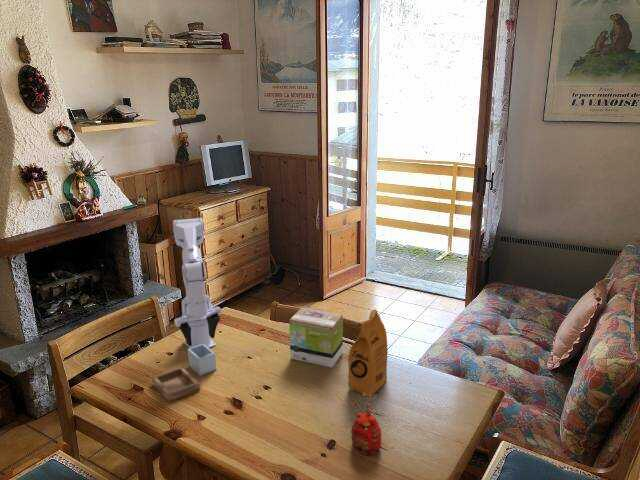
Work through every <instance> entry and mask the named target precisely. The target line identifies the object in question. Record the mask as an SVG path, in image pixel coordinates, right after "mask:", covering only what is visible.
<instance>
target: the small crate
mask: <svg viewBox="0 0 640 480" xmlns="http://www.w3.org/2000/svg"><path fill="white" fill-rule="evenodd" d="M187 356H188V364H189V366H188V367H190V368H191V369H192V370H193V371H194V372H196V373H197V375H198V376H199V377H202V376H205V375H208V374H210V373H212V372H215V371H217V362H216V361H217V360H216V353H215V352H214V351H213V350H212V349H211V348H208V347H207V346H206V345H205V344H201V345H198V346H195V347H192V348H189V347H188V348H187Z"/></svg>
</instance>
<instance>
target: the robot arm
mask: <svg viewBox="0 0 640 480" xmlns="http://www.w3.org/2000/svg"><path fill="white" fill-rule="evenodd" d="M172 227H173V229H172V231H173V236H174V241H175V244H176V245H177V246H179V247H181V248H182V250H181V251H182V253H181V257H182V266H181V272H182V279H183V284H184V288H185V297H184V298H183V299H181V314H182V316H180V317H178V318H175V319H174V326H175V327H176V328H178V329H179V330H180V331H181V333H182V335H183V337H184V339H185V340H184V341H182V342H183V344H184V345H185V346H187V347H188V349H189V348H192V347H195V346H198V345H201V344H205V345H206V346H207V347H208V348H209V349H211V348H212V347H215V346H216V345H217V344H216V343H215V342H214V341H213V340H212V339H214V338H215V335H216V330H217V326H218V324H219V322H220V319H221V317H220V316H219V315H221V314H222V308H221V307H219V306H214V307H213V306H212V301H211V298H210V296H209V295H208V294H206V283H205V281H206V266H205V262H204V260H203V259H202V258H203V257H202V251H201V249H200V247H199V245H201V244H203V243H204V239H205V238H204V235H205V231H204V230H205V227H204V221H203V218H201V217H197V218H188V219H187V218H186V219H174V220H172Z"/></svg>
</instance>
